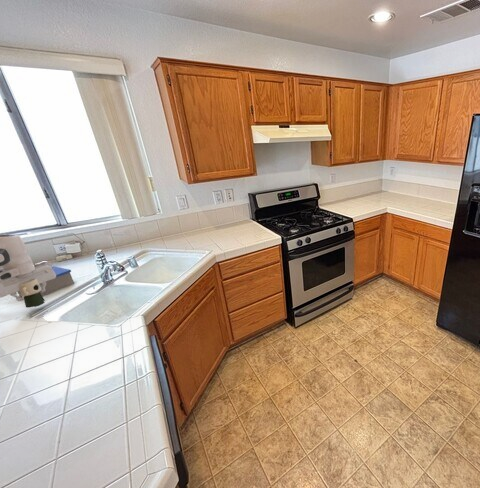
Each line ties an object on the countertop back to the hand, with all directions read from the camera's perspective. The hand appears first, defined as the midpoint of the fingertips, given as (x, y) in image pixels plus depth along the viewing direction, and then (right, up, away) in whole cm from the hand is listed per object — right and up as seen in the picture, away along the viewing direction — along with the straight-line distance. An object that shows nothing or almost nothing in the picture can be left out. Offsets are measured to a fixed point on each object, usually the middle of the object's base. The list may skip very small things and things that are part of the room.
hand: (31, 295), depth 120 cm
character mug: (0, -5, +2) cm, 5 cm away
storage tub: (-14, 0, +21) cm, 25 cm away
